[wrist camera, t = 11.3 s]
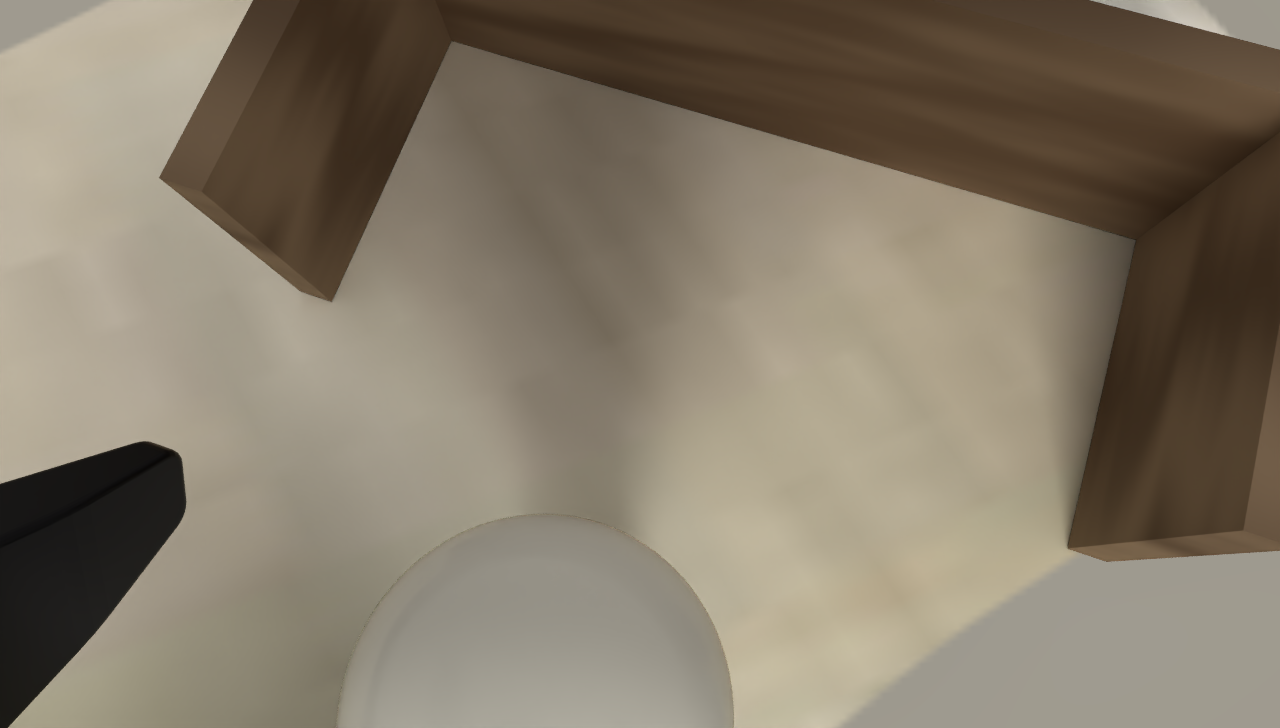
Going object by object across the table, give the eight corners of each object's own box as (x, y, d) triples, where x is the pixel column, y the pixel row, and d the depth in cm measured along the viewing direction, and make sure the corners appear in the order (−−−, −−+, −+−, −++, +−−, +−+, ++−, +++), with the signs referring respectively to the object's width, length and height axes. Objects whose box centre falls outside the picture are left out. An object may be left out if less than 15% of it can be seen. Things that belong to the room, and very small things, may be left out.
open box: (1106, 561, 22) (1301, 548, 15) (300, 290, 25) (158, 177, 18) (1179, 218, 24) (1376, 75, 17) (434, 5, 27) (354, -191, 20)
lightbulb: (502, 507, 23) (349, 450, 12) (736, 567, 22) (795, 563, 11) (431, 757, 21) (187, 946, 11) (679, 829, 21) (686, 1104, 10)
